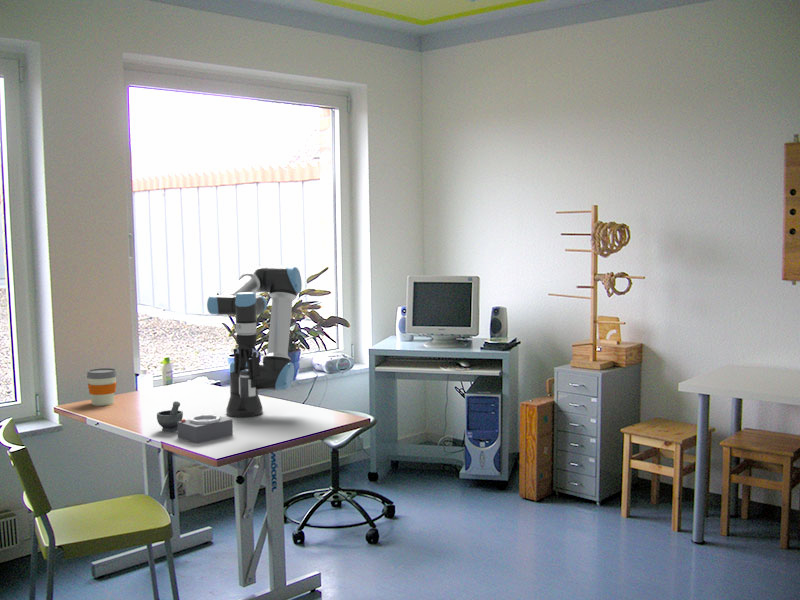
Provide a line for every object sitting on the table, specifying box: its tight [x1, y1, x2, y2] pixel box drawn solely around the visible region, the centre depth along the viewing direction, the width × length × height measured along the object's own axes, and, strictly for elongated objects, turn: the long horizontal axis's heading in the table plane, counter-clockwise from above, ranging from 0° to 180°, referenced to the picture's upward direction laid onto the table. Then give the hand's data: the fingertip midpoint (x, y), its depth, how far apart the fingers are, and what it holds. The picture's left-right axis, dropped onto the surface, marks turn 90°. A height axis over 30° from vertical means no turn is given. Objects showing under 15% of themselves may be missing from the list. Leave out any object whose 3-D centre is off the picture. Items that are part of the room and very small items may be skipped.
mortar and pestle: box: [156, 400, 184, 433], centre depth 296 cm, size 11×9×12 cm
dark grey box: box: [177, 414, 234, 444], centre depth 288 cm, size 16×12×7 cm
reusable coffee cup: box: [86, 367, 118, 406], centre depth 344 cm, size 13×13×15 cm
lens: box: [240, 369, 254, 398], centre depth 289 cm, size 5×5×10 cm
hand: (247, 394), depth 290 cm, fingers closed on lens, 5 cm apart
